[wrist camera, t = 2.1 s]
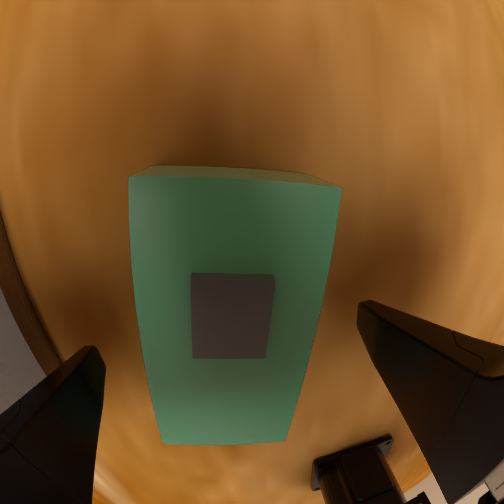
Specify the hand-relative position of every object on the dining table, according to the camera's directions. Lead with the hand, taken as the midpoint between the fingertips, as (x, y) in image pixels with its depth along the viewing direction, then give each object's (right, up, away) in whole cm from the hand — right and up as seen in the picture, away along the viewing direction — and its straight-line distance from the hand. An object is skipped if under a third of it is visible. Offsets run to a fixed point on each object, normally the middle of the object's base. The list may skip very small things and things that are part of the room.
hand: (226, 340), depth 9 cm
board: (0, +1, +2) cm, 3 cm away
